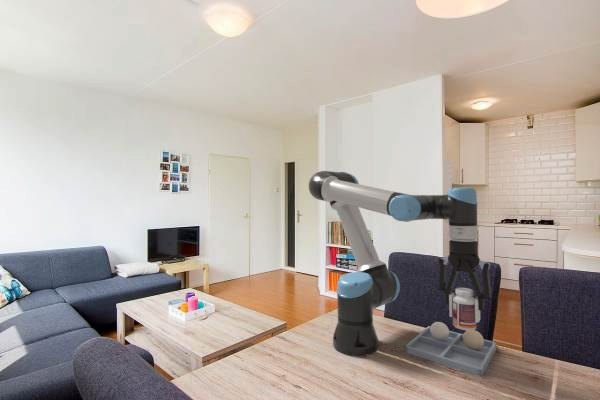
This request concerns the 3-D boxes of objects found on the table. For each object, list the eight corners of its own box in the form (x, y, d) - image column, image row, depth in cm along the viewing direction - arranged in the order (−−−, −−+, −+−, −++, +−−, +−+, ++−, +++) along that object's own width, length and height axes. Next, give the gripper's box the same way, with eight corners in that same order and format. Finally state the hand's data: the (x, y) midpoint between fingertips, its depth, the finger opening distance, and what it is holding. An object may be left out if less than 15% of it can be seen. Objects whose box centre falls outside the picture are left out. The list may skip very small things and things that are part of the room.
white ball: (427, 340, 107) (427, 322, 107) (433, 334, 112) (433, 317, 112) (446, 345, 103) (445, 327, 103) (451, 339, 108) (451, 322, 108)
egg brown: (460, 349, 100) (460, 330, 100) (465, 343, 105) (465, 325, 105) (481, 355, 96) (481, 336, 96) (486, 348, 101) (485, 329, 101)
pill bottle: (480, 328, 92) (480, 290, 92) (469, 333, 88) (469, 294, 88) (460, 321, 97) (460, 285, 97) (448, 325, 94) (448, 288, 94)
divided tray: (404, 354, 99) (404, 346, 99) (428, 332, 115) (428, 325, 115) (481, 379, 85) (481, 369, 85) (496, 350, 101) (496, 342, 101)
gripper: (425, 238, 96) (427, 314, 96) (498, 243, 84) (500, 330, 84) (434, 236, 102) (435, 308, 102) (503, 240, 89) (505, 322, 89)
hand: (464, 318), depth 93 cm, fingers closed on pill bottle, 6 cm apart
